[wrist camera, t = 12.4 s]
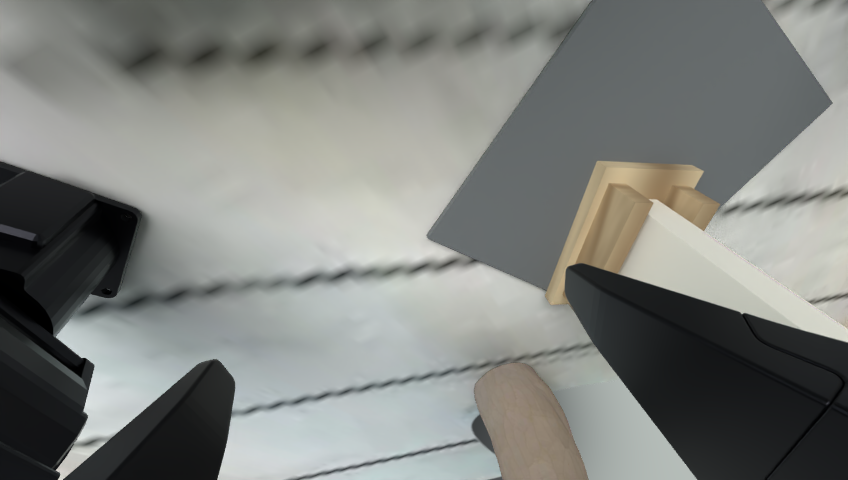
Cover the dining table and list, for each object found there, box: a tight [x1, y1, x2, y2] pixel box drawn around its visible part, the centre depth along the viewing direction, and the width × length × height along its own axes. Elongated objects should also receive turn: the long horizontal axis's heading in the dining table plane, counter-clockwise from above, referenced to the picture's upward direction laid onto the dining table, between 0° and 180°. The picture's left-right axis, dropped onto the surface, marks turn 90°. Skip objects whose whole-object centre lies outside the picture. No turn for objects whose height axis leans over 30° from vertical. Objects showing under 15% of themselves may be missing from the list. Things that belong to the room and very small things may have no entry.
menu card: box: [618, 199, 848, 342], centre depth 21 cm, size 2×7×12 cm, turn 174°
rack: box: [545, 161, 720, 309], centre depth 25 cm, size 7×11×4 cm, turn 173°
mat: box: [427, 0, 832, 290], centre depth 24 cm, size 20×18×1 cm
